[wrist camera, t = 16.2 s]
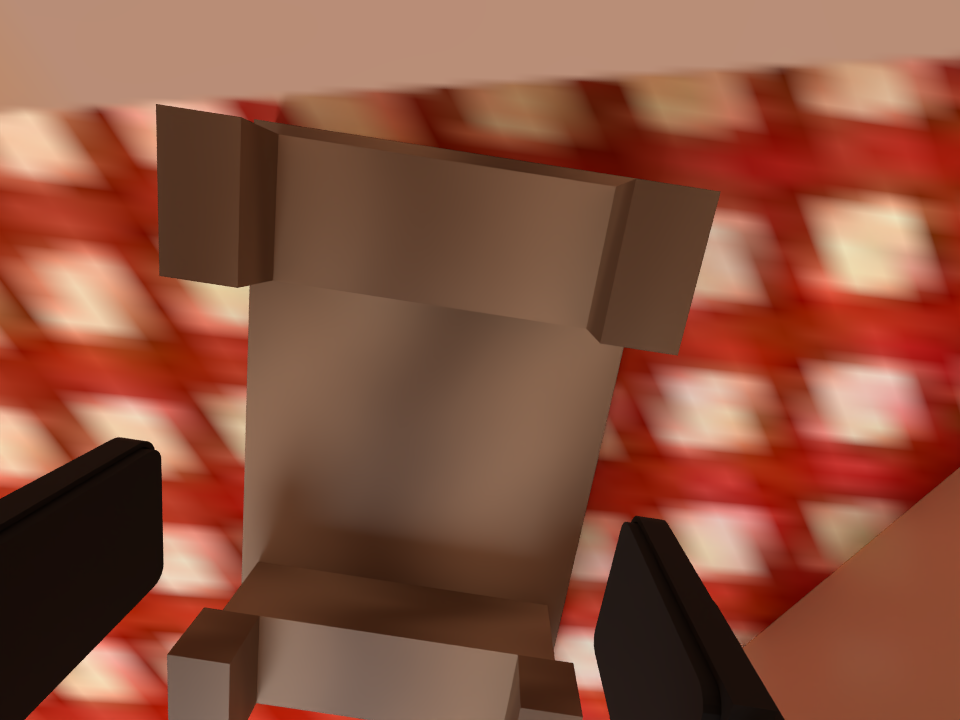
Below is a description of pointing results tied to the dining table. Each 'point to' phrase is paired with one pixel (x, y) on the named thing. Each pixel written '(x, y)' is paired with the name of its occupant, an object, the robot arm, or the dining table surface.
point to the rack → (412, 407)
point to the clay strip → (876, 627)
